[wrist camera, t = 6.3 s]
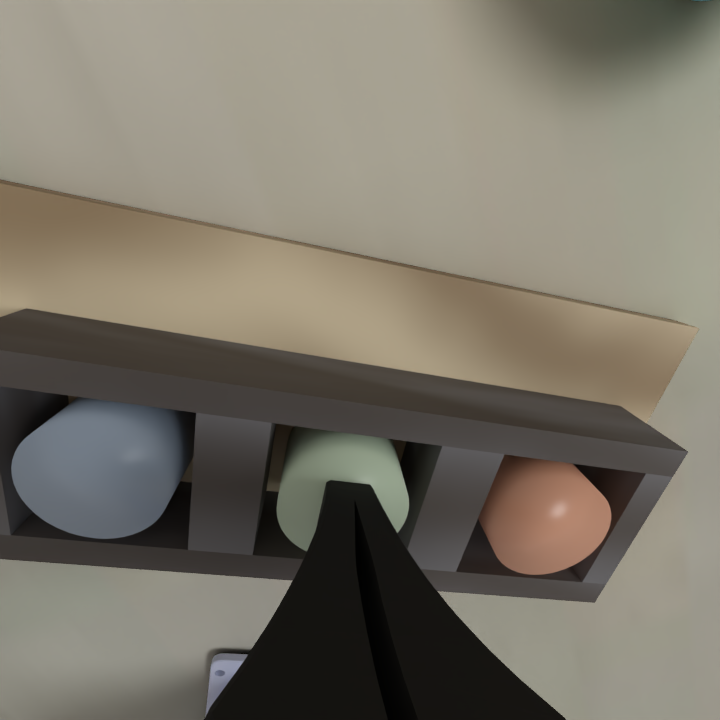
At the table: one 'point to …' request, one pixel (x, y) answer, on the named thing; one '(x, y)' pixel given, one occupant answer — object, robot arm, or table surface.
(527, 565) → the terracotta button
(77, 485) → the slate button
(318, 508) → the sage button
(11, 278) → the button panel
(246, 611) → the table surface
